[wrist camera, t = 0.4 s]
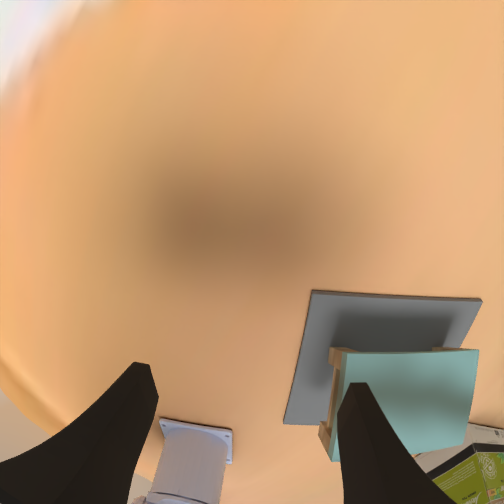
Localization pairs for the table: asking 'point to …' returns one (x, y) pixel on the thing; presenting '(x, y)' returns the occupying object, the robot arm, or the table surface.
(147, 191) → the table surface
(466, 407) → the footstool
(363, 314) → the floor mat
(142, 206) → the table surface
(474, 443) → the tea box
